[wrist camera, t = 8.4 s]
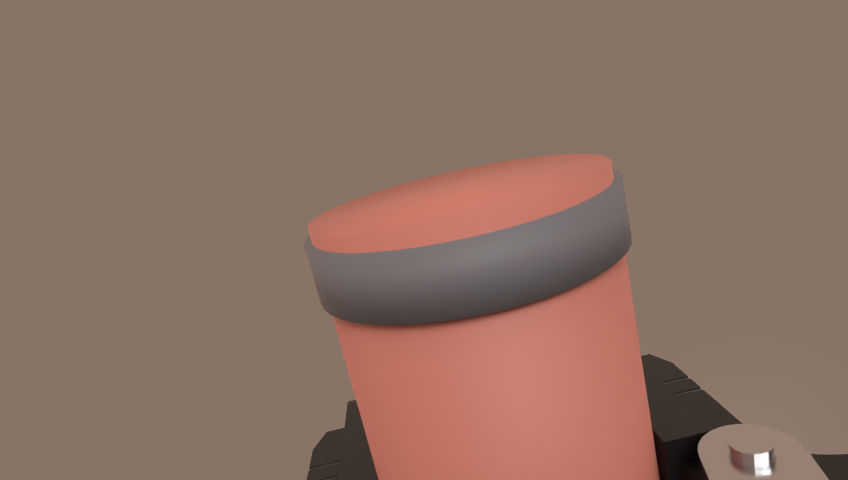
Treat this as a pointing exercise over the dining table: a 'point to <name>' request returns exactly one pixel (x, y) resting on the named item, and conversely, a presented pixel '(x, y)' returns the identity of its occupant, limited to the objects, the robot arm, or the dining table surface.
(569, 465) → the post
